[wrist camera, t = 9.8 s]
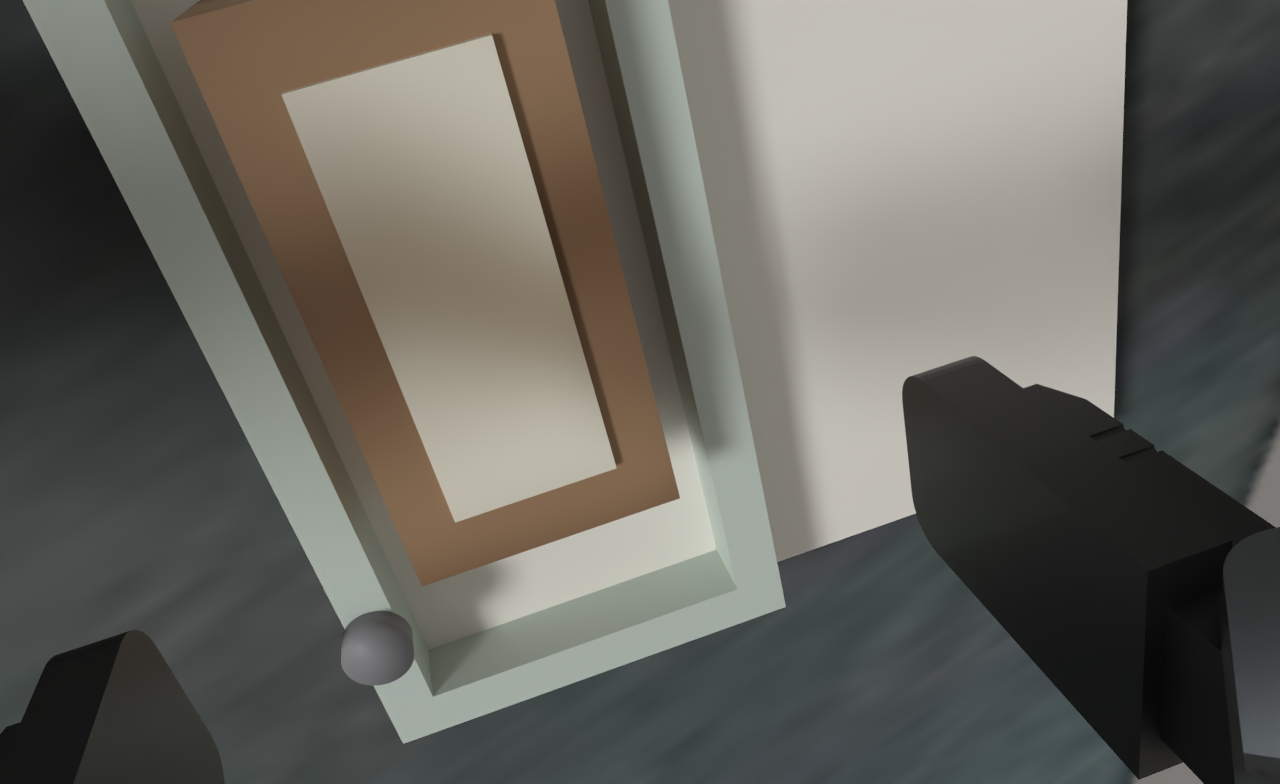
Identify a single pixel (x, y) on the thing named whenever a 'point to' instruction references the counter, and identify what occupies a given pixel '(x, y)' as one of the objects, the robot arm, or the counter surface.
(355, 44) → the frame
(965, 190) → the wall panel
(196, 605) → the counter surface
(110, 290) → the counter surface
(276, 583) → the counter surface
